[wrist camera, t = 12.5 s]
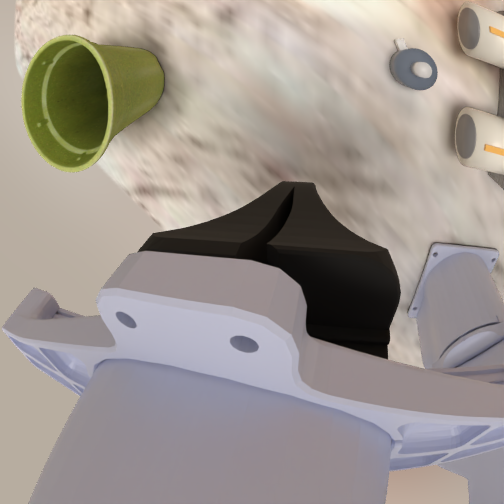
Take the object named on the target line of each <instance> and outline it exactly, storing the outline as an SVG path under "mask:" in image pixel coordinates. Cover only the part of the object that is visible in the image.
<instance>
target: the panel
mask: <svg viewBox="0 0 504 504" xmlns="http://www.w3.org/2000/svg"><path fill="white" fill-rule="evenodd" d="M497 13H498V14H501V15H503V16H504V11H499V12H497ZM498 116H499V117H502V118H504V69H502V68H500V91H499V106H498ZM488 175H489V176H491V177H492V178H493V179H494V180H495V181H496V182H497V183H498V184H499V185H500V186H501V187H502V188H503V189H504V175H501V174H497V173H493V172H489V173H488Z"/></svg>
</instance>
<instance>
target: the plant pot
mask: <svg viewBox="0 0 504 504" xmlns="http://www.w3.org/2000/svg"><path fill="white" fill-rule="evenodd" d="M163 87H164V73H163V71H162V69H161V67H160V65H159V63H158V61H157V58H156V57H155V56H154V55H153V54H152V53H151V52H149V51H147V50H144V49H140V48H132V47H122V46H111V45H98V44H96V43H94V42H90V41H89V40H87V39H85V38H83V37H80V36H77V35H62V36H58V37H56V38H53V39H52V40H50V41H48V42H47V43H45V44H44V45H43V46H42V47H41V48H40V49H39V50H38V51H37V53H36V54H35V55H34V57H33V58H32V60H31V62H30V64H29V67H28V69H27V72H26V74H25V78H24V81H23V87H22V113H23V120H24V124H25V127H26V130H27V133H28V136H29V138H30V140H31V142H32V144H33V146H34V148H35V149H36V150H37V152H38V153H39V154H40V156H41V157H42V158H43V159H44V160H45V161H46V162H47V163H49V164H50V165H51V166H53V167H55V168H57V169H59V170H61V171H65V172H79V171H83V170H85V169H87V168H89V167H90V166H92V165H93V164H95V163H96V162H97V161H98V160H99V159H100V158H101V156H102V155H103V154H104V152H105V150H106V149H107V147H108V145H109V143H110V141H111V140H112V139H113V137H114V136H115V135H116V134H118V133H119V132H120V131H122V130H123V129H124V128H125V127H127V126H128V125H129V124H131V123H132V122H134V121H135V120H136V119H138V118H139V117H141V116H142V115H144V114H145V113H147V112H148V111H149V110H150V109H152V108H153V107H154V106H155V105H156V104H157V102H158V100H159V99H160V97H161V94H162V91H163Z"/></svg>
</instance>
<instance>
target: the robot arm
mask: <svg viewBox="0 0 504 504" xmlns="http://www.w3.org/2000/svg"><path fill="white" fill-rule="evenodd" d="M435 252H437V253H436V254H434V253H435ZM498 257H499V252H498V250H496V249H488V248H479V247H470V246H461V245H451V244H441V243H435V244H433V245H432V247H431V250H430V253H429V256H428V259H427V262H426V265H425V268H424V271H423V274H422V277H421V280H420V283H419V285H418V288H417V291H416V293H415V296H414V298H413V301H412V304H411V306H410V308H409V311H408V317H410V318H416V321H417V327H418V333H419V340H420V347H421V354H422V361H423V364H424V367H425V369H423V368H419V367H415V366H411V365H407V364H403V363H399V362H395V361H392V360H388V348H387V345H388V344H389V342H390V330H389V328H390V325H391V323H392V320H393V317H394V315H395V312H396V310H397V307H398V304H399V300H400V294H401V291H400V283H399V278H398V275H397V271H396V269H395V266H394V263H393V261H392V259H391V256H390V254H389V252H388V250H387V249H386V248H383V247H381V246H378V245H376V244H374V243H371V242H369V241H367V240H365V239H363V238H361V237H360V236H358V235H356V234H355V233H353V232H351V231H350V230H349V229H347V228H346V227H345V226H343V225H342V224H341V223H340V222H339V221H337V220H336V219H335V218H334V217H333V215H332V214H331V213H330V212H329V210H328V209H327V208H326V206H325V205H324V203H323V202H322V200H321V198H320V197H319V195H318V193H317V190H316V186H315V184H314V183H309V182H286V181H283V182H281V183H279V184H278V185H276V186H275V187H273V188H272V189H270V190H269V191H268V192H266V193H265V194H263V195H262V196H260V197H259V198H257V199H255V200H254V201H252V202H250V203H249V204H247V205H245V206H244V207H242V208H240V209H238V210H236V211H233V212H231V213H229V214H227V215H224V216H221V217H219V218H216V219H213V220H210V221H208V222H204V223H201V224H197V225H194V226H190V227H185V228H181V229H176V230H170V231H164V232H158V233H153V234H152V235H151V236H150V237H149V239H148V240H147V241H146V242H145V243H144V245H143V246H142V247H141V248H140V249H139V251H138V252H137V253H132V254H129V255H128V256H127V257H126V259H125V260H124V261H123V262H122V263H121V265H120V266H119V267H118V268H117V269H116V271H115V272H114V273H113V275H112V276H111V277H110V278H109V279H108V281H107V282H106V283H105V285H104V286H103V287H102V288H101V290H100V292H99V294H98V296H97V298H96V303H97V307H98V309H99V312H100V315H99V316H83V315H79V314H76V313H73V312H70V311H68V310H65V309H62V308H59V305H58V303H57V301H56V300H55V298H54V297H53V296H52V295H51V294H50V293H48V292H47V291H44V290H41V289H38V288H33V289H32V290H31V292H30V293H29V294H28V295H27V296H26V298H25V299H24V300H23V301H22V302H21V304H20V305H19V306H18V307H17V309H16V310H15V311H14V312H13V314H12V315H11V316H10V317H9V319H8V320H7V321H6V323H5V324H4V325H3V327H2V330H3V331H4V333H5V334H6V335H7V336H8V337H9V339H10V340H11V341H12V342H13V343H14V344H15V346H16V347H17V348H18V349H19V350H20V351H21V352H22V353H23V354H24V356H25V357H26V358H27V359H28V360H29V361H30V362H31V363H32V364H33V365H34V366H35V367H37V368H38V369H39V370H41V371H42V372H44V373H45V374H47V375H49V376H50V377H52V378H53V379H55V380H56V381H57V382H59V383H61V384H62V385H64V386H65V387H67V388H68V389H70V390H71V391H73V392H74V393H76V394H78V395H79V396H80V398H79V400H78V402H77V404H76V405H75V407H74V409H73V411H72V413H71V414H70V416H69V418H68V420H67V422H66V424H65V426H64V428H63V430H62V432H61V434H60V436H59V438H58V440H57V441H56V444H55V446H54V448H53V450H52V452H51V454H50V456H49V458H48V460H47V462H46V464H45V466H44V469H43V471H42V473H41V475H40V477H39V480H38V482H37V484H36V487H35V489H34V491H33V493H32V496H31V498H30V501H29V503H28V504H385V501H386V494H387V486H388V477H389V471H397V470H405V469H412V468H419V467H425V466H431V465H436V464H437V465H438V466H439V467H441V468H444V469H446V470H448V471H451V472H453V473H456V474H458V475H460V476H463V477H465V478H466V479H468V488H469V504H504V303H503V300H502V298H501V296H500V294H499V291H498V289H497V287H496V285H495V282H494V280H493V278H492V276H491V272H492V270H493V268H494V266H495V263H496V261H497V259H498ZM493 258H494V259H493ZM414 307H415V308H414Z"/></svg>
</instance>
